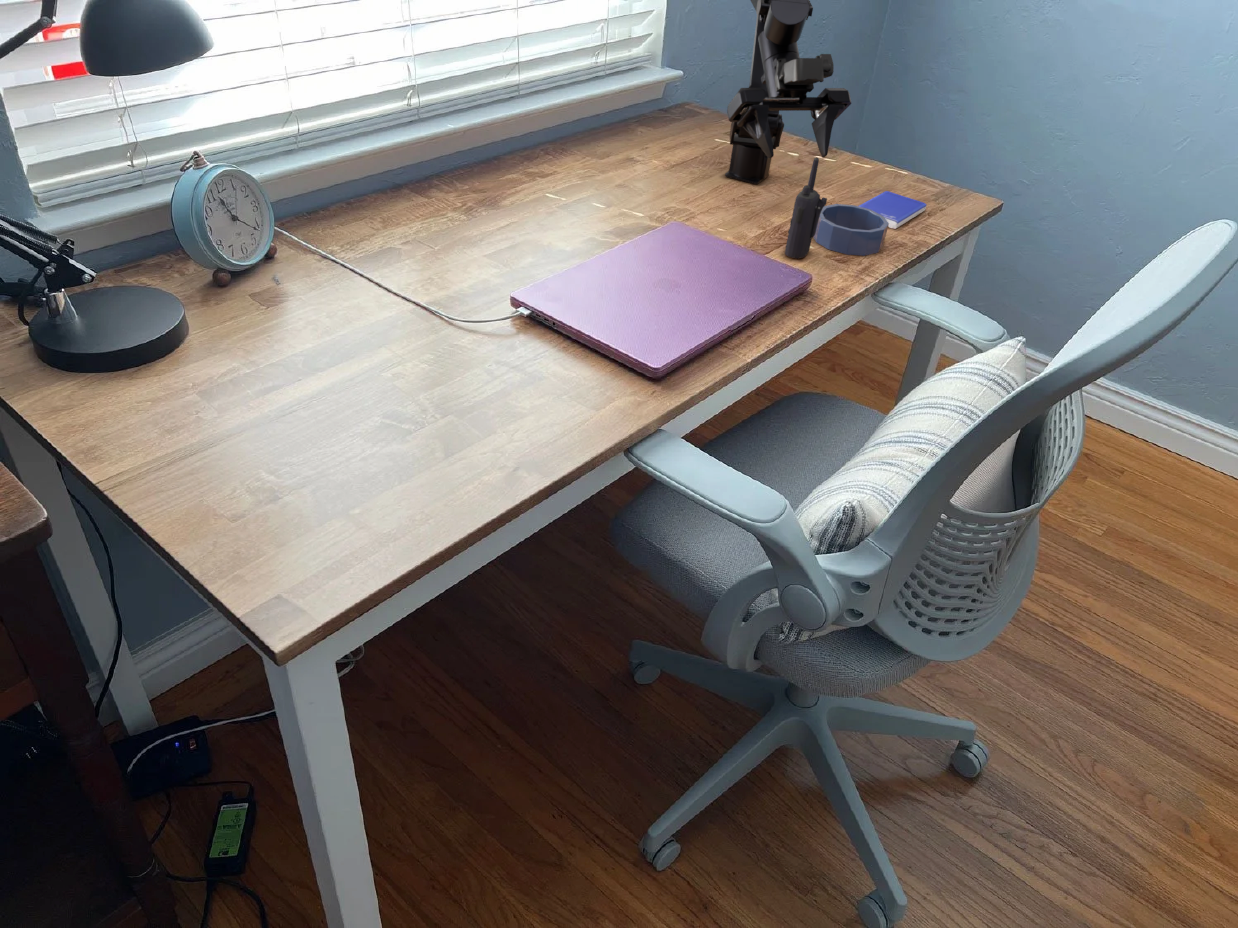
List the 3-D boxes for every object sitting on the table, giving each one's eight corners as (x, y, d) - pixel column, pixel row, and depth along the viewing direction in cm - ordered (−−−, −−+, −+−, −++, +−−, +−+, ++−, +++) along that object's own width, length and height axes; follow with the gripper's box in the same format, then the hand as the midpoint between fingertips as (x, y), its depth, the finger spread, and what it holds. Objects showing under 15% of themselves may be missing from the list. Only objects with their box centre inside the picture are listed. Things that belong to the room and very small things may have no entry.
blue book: (898, 221, 161) (927, 203, 169) (854, 206, 164) (885, 189, 172) (895, 229, 161) (924, 211, 170) (852, 215, 165) (883, 198, 173)
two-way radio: (791, 245, 152) (811, 152, 143) (818, 252, 151) (839, 159, 142) (780, 257, 148) (800, 162, 139) (808, 264, 147) (829, 169, 138)
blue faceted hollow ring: (804, 243, 154) (809, 219, 151) (825, 221, 162) (830, 199, 159) (871, 261, 150) (877, 237, 147) (889, 238, 158) (895, 215, 156)
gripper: (747, 30, 138) (765, 132, 136) (860, 33, 143) (879, 131, 141) (718, 72, 148) (735, 167, 146) (825, 73, 153) (842, 164, 152)
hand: (798, 156), depth 146 cm, fingers open, 9 cm apart
